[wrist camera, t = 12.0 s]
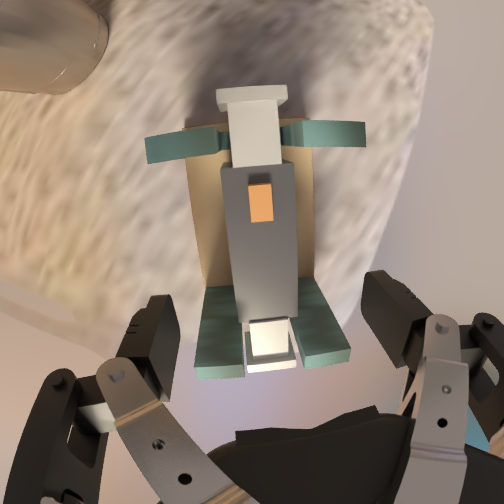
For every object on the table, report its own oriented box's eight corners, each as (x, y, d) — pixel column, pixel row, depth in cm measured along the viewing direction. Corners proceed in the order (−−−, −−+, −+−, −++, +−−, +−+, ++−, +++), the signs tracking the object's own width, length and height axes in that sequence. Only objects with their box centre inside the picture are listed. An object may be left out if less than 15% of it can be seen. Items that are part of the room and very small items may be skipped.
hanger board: (209, 300, 26) (199, 388, 16) (184, 129, 20) (140, 118, 10) (310, 289, 27) (348, 369, 17) (306, 118, 21) (365, 103, 10)
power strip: (242, 323, 25) (245, 372, 19) (218, 105, 18) (211, 89, 12) (285, 319, 25) (298, 366, 19) (273, 101, 18) (290, 84, 12)
